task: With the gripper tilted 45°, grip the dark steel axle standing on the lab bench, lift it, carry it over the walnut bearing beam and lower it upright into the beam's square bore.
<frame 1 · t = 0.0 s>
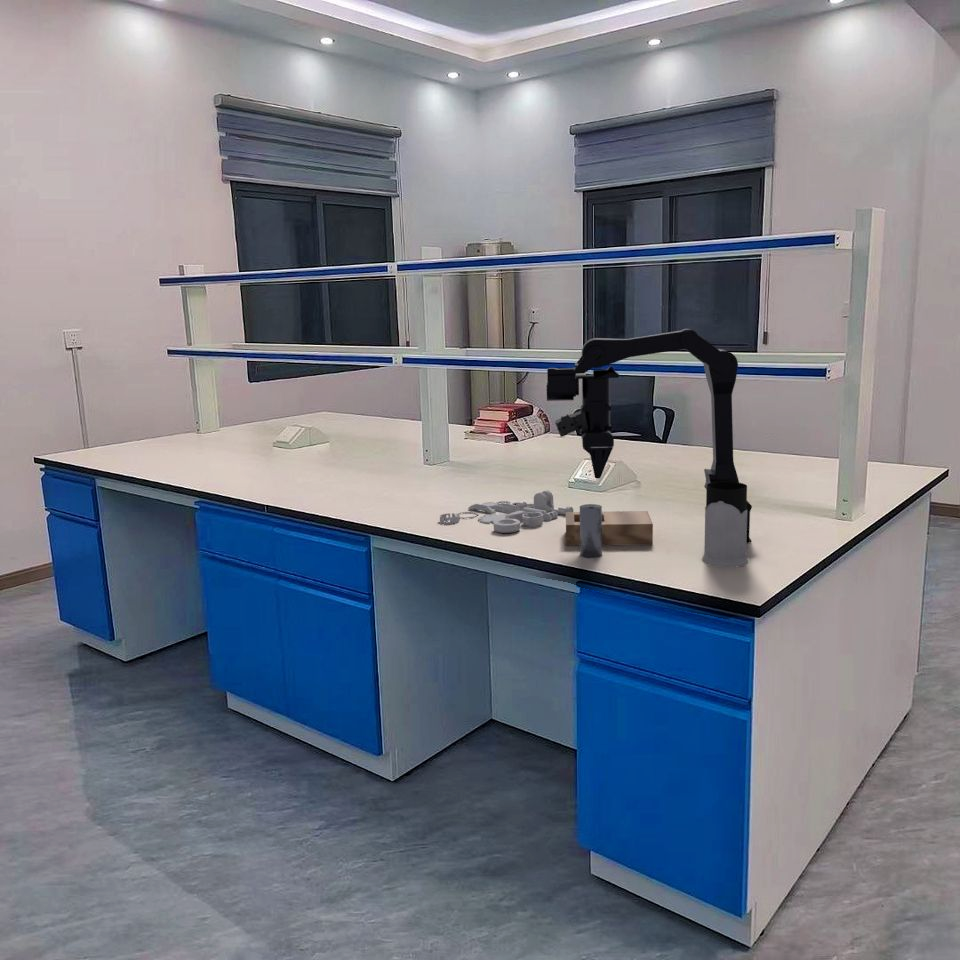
hand: (596, 473, 182), 15 cm above the table, tool pointing down, fingers open, 9 cm apart
robot parts: (503, 520, 208), on the table
glass holder: (728, 557, 171), on the table
axle: (591, 554, 176), on the table
bearing beam: (607, 537, 187), on the table
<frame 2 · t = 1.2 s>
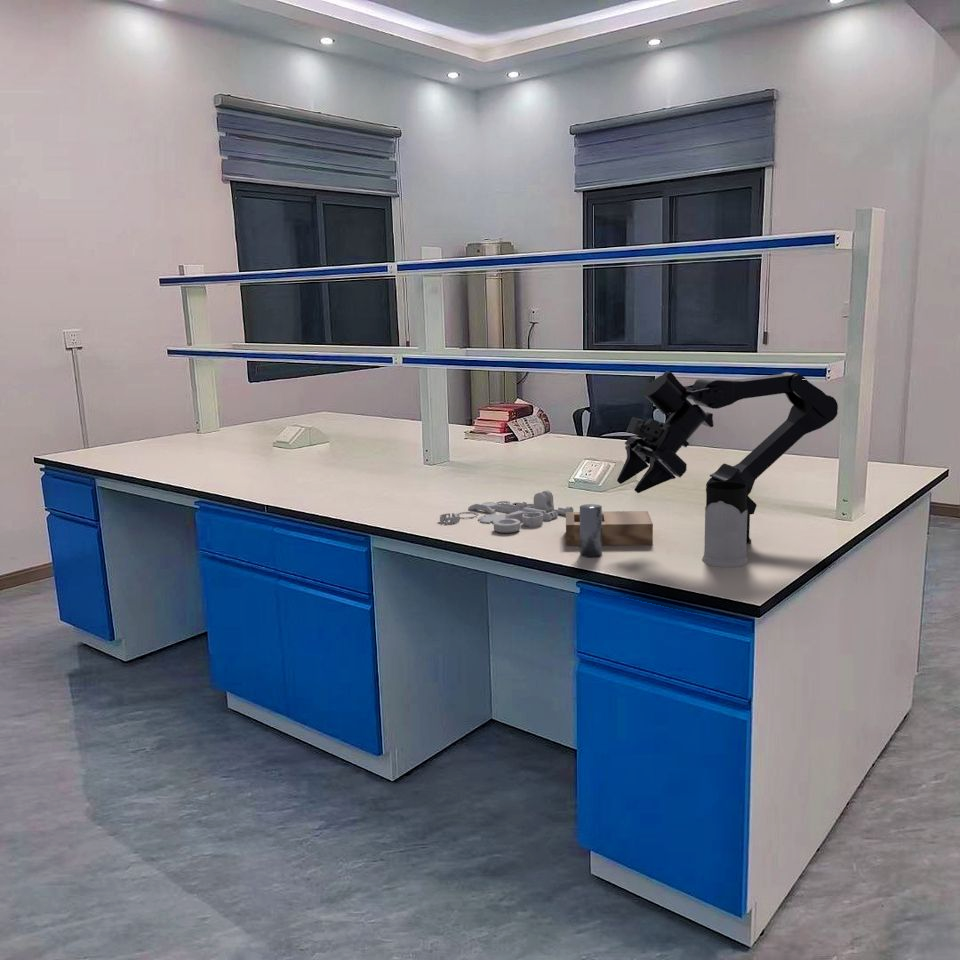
hand: (627, 486, 175), 13 cm above the table, tool tilted 45°, fingers open, 9 cm apart
nothing on the table moved.
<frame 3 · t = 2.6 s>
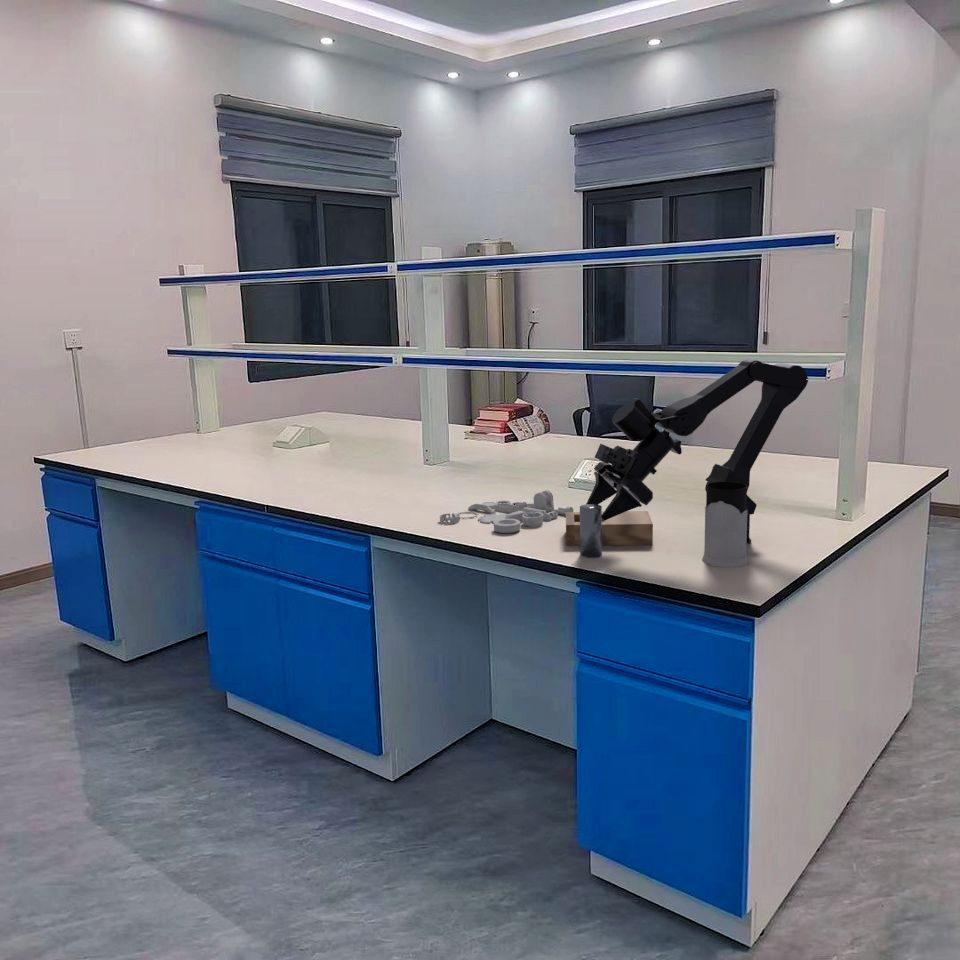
hand: (594, 513, 174), 9 cm above the table, tool tilted 45°, fingers open, 9 cm apart
nothing on the table moved.
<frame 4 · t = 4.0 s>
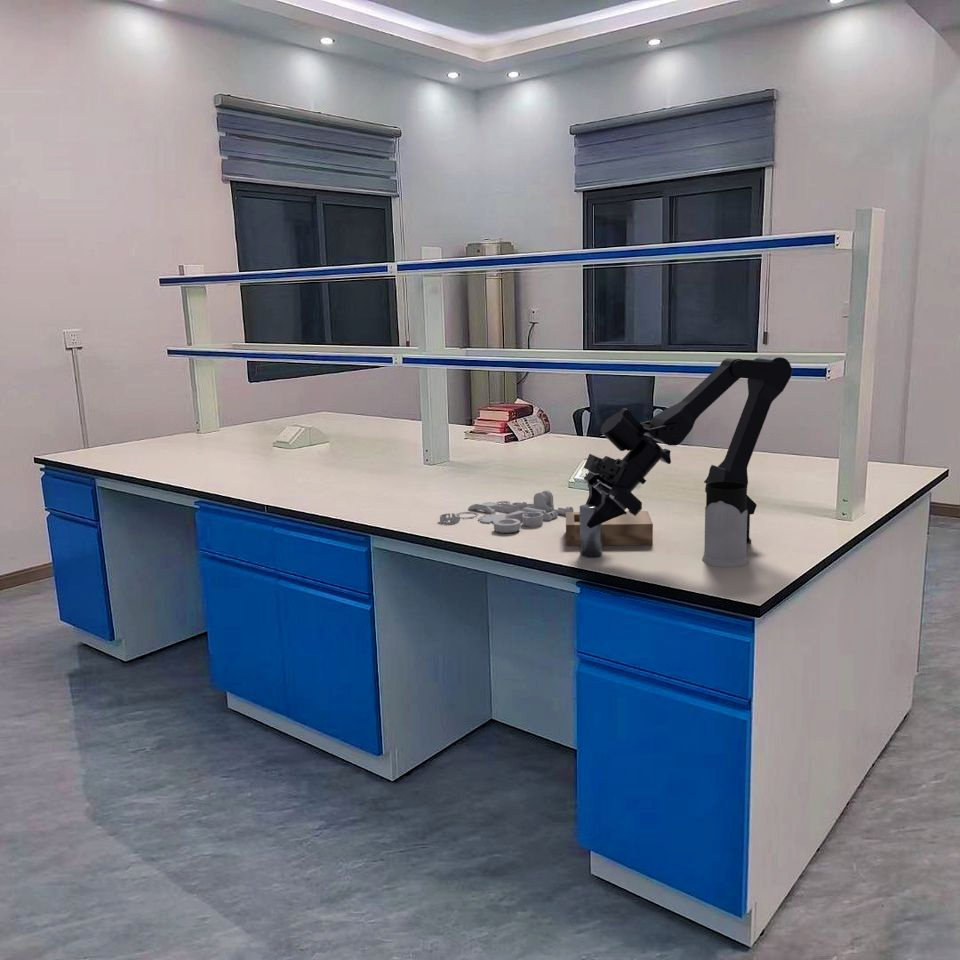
hand: (584, 523, 174), 7 cm above the table, tool tilted 45°, fingers closed on axle, 4 cm apart
axle: (591, 554, 176), on the table, touching gripper
everything else where it was.
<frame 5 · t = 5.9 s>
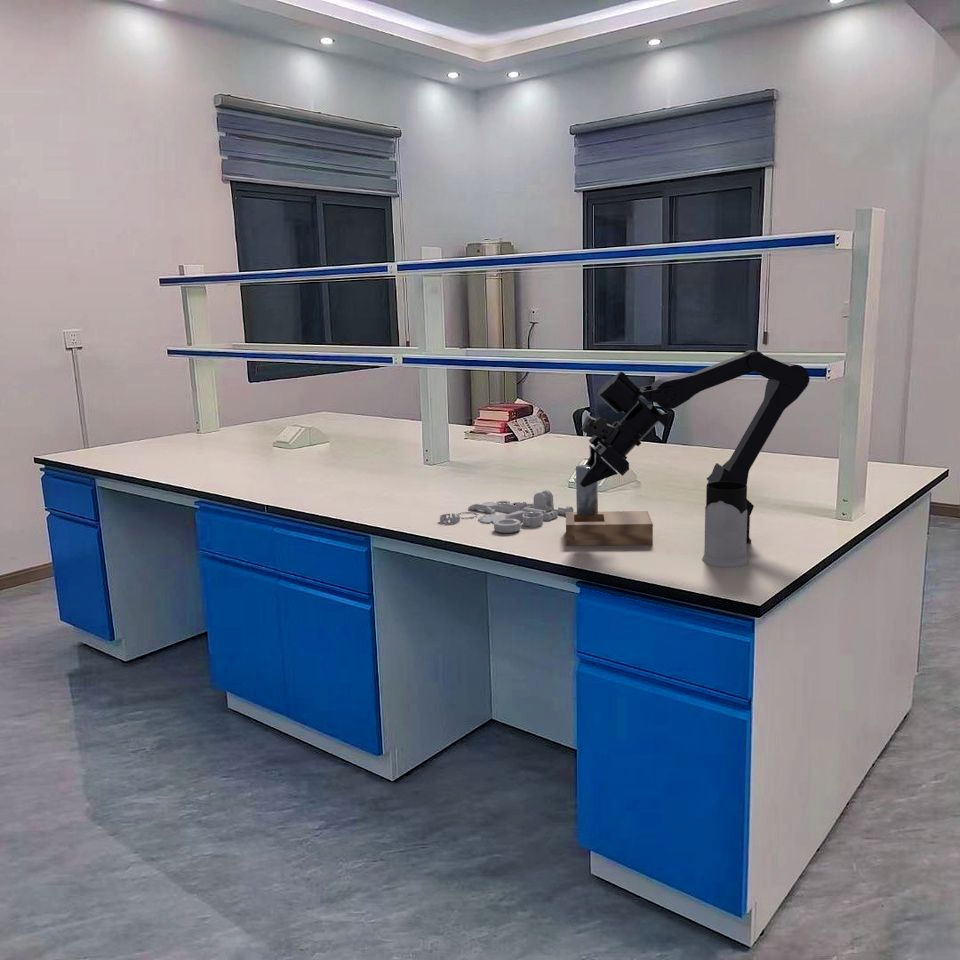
hand: (580, 483, 180), 13 cm above the table, tool tilted 45°, fingers closed on axle, 4 cm apart
axle: (587, 513, 181), point 7 cm above the table, touching gripper
everything else where it was.
when the fingers open (9 cm above the table, at t = 7.8 s): axle drops 1 cm, resting on bearing beam.
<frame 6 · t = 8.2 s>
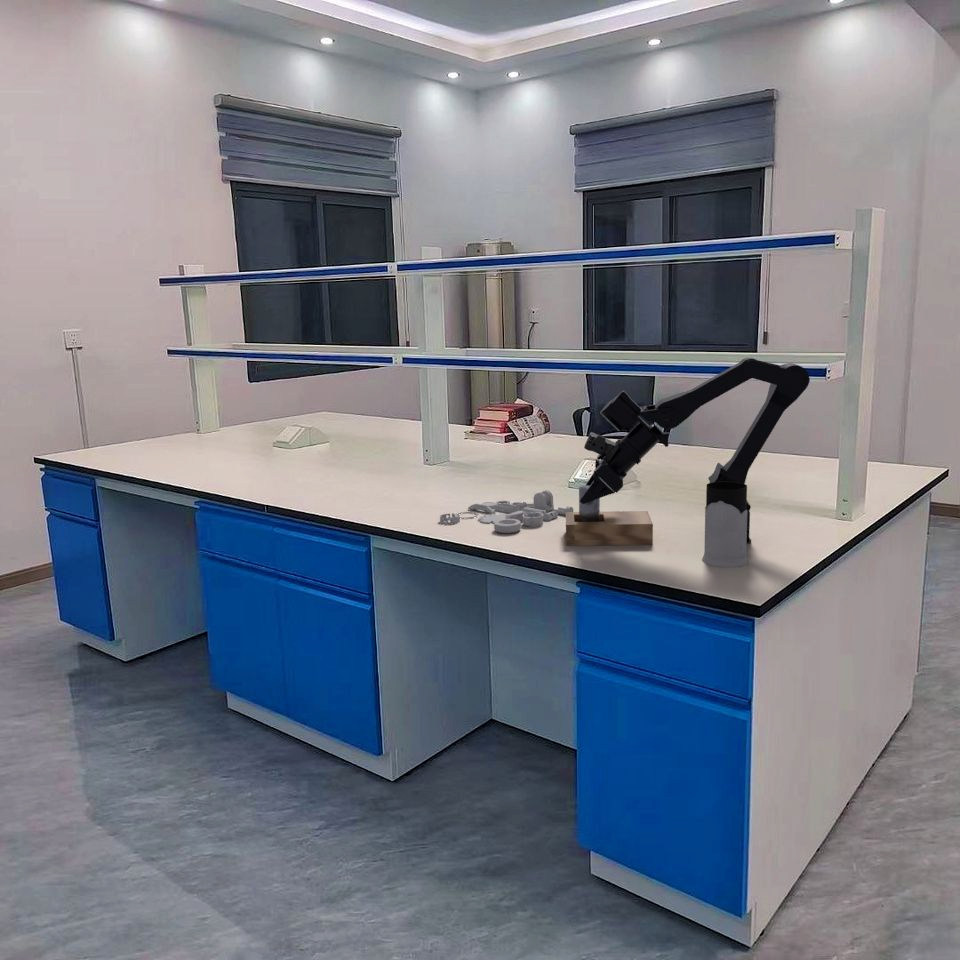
hand: (582, 497, 186), 9 cm above the table, tool tilted 45°, fingers open, 9 cm apart
axle: (589, 532, 187), point 1 cm above the table, touching bearing beam
everything else where it was.
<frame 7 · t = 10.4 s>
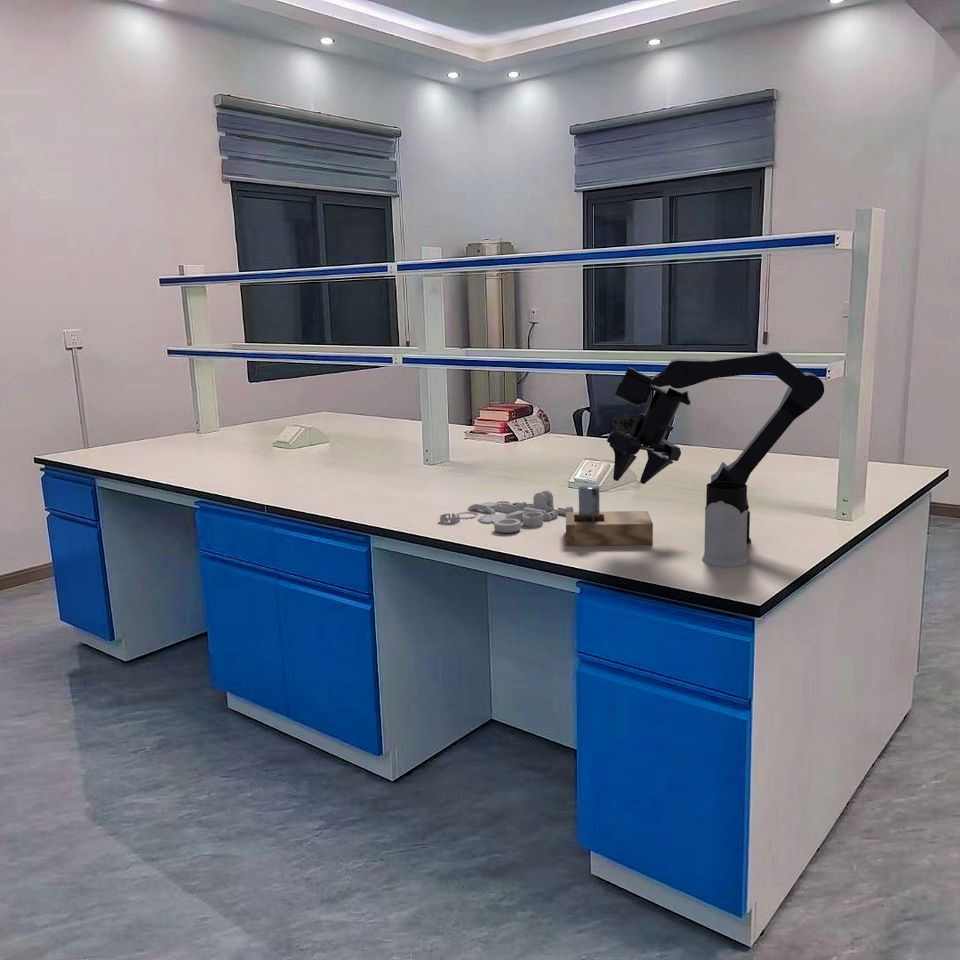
hand: (628, 481, 186), 12 cm above the table, tool tilted 25°, fingers open, 9 cm apart
nothing on the table moved.
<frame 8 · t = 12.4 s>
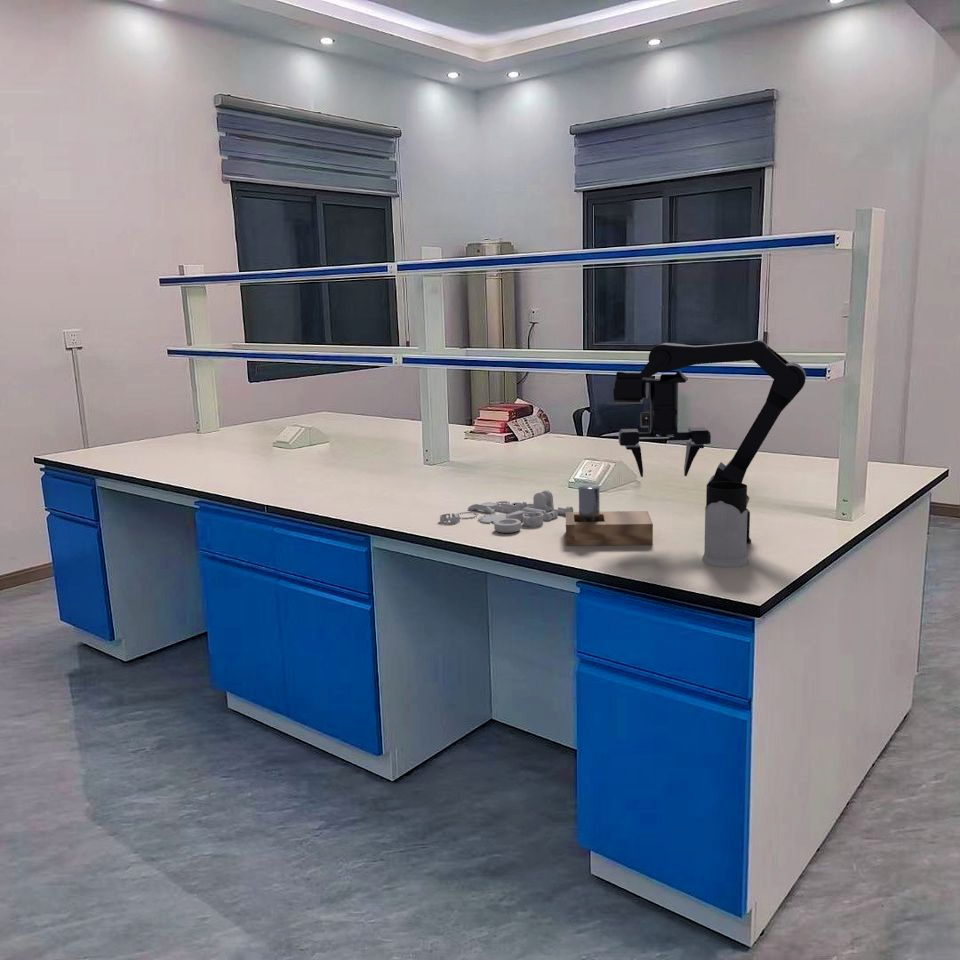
hand: (663, 476, 185), 13 cm above the table, tool pointing down, fingers open, 9 cm apart
nothing on the table moved.
at the end: axle 0.1 cm from the target spot on the bearing beam, point 1.2 cm above the bearing beam's base; axle tilted 0°; the gripper is holding nothing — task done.
